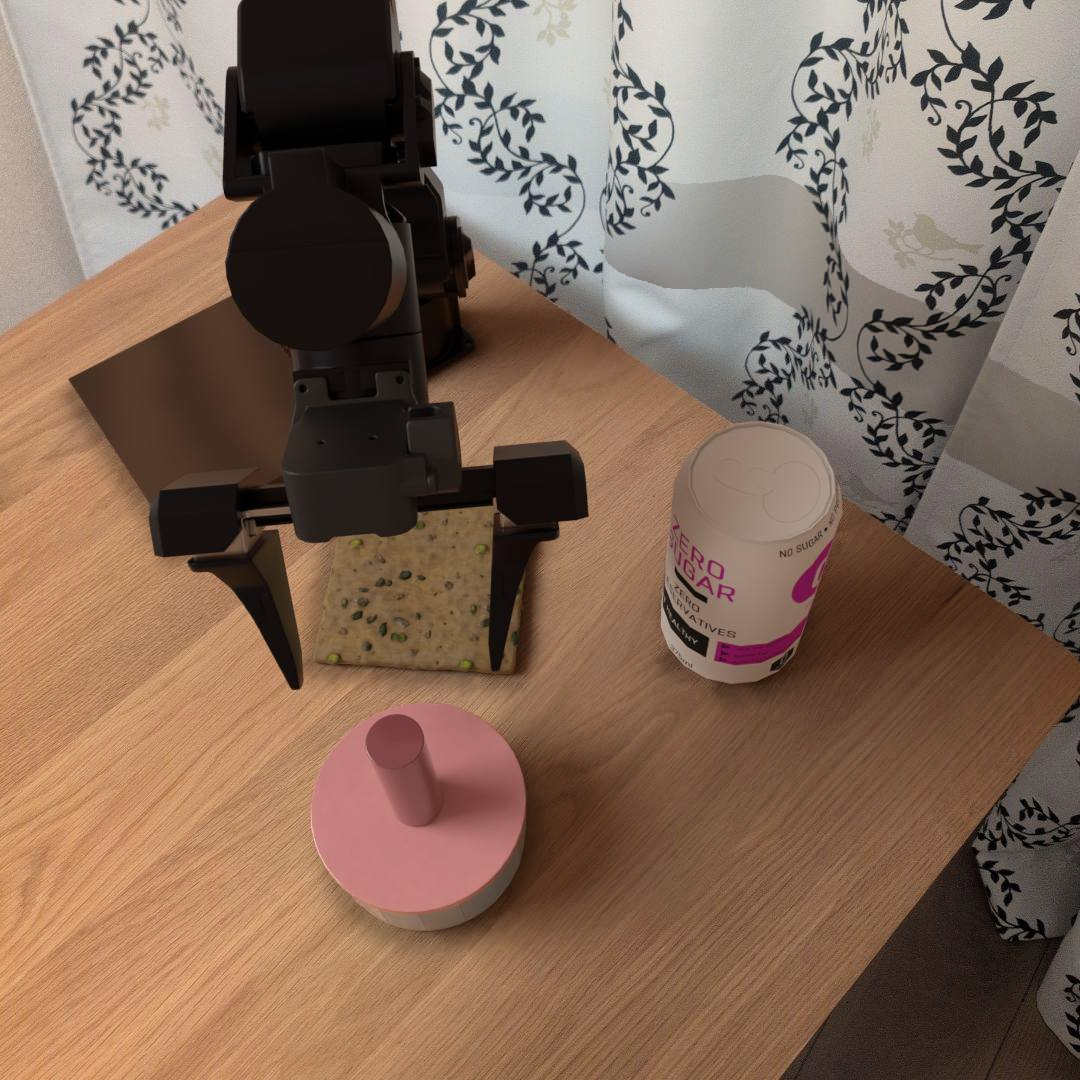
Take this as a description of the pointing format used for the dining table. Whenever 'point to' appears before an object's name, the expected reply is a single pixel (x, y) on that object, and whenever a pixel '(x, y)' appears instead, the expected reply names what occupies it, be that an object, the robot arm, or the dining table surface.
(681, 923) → the dining table surface
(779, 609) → the supplement can
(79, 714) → the dining table surface
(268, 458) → the board
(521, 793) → the lid
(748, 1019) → the dining table surface
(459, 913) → the bowl
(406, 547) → the cookie
